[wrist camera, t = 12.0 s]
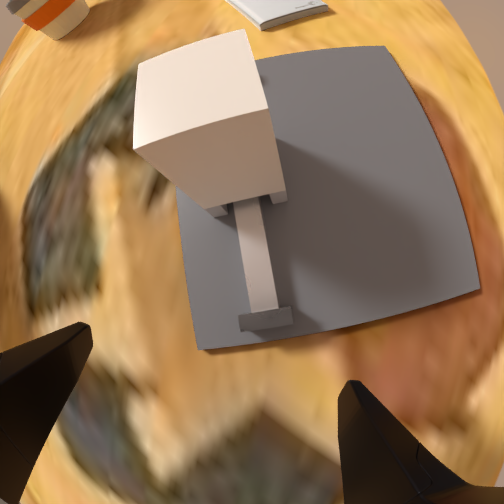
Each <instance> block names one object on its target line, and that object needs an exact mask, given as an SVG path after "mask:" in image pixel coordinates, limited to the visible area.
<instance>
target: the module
mask: <svg viewBox="0 0 504 504" xmlns="http://www.w3.org/2000/svg"><path fill="white" fill-rule="evenodd" d="M133 150H134V151H135V152H137V153H138V154H139V155H140V156H141V157H143V158H144V159H145V160H146V161H147V162H149V163H150V164H151V165H152V166H153V167H154V168H156V169H157V170H158V171H159V172H160V173H162V174H163V175H164V176H165V177H166V178H168V179H169V180H170V181H171V182H172V183H173V184H175V185H176V186H177V187H178V188H179V189H181V190H182V191H183V192H184V193H185V194H187V195H188V196H189V197H190V198H191V199H192V200H194V201H195V202H196V203H197V204H198V205H200V206H201V207H202V208H203V209H204V210H206V211H207V212H208V213H209V214H210V215H211V216H213V217H219V216H223V215H227V214H228V209H227V203H231V202H236V201H240V200H244V199H249V198H253V197H257V196H262V195H266V194H269V195H270V198H271V200H272V203H273V204H276V203H281V202H286V201H288V198H287V193H286V188H285V183H284V178H283V173H282V168H281V163H280V158H279V154H278V149H277V144H276V140H275V135H274V131H273V126H272V122H271V117H270V113H269V109H268V105H267V101H266V98H265V94H264V91H263V87H262V84H261V80H260V77H259V74H258V70H257V67H256V64H255V60H254V57H253V54H252V50H251V47H250V44H249V41H248V38H247V35H246V32H245V29H240V30H236V31H232V32H228V33H225V34H221V35H217V36H214V37H210V38H207V39H204V40H200V41H197V42H194V43H191V44H188V45H185V46H182V47H180V48H177V49H174V50H171V51H169V52H166V53H164V54H161V55H159V56H156V57H154V58H151V59H149V60H147V61H144V62H142V63H140V64H139V65H138V74H137V84H136V96H135V111H134V133H133Z"/></svg>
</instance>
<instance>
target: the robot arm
mask: <svg viewBox="0 0 504 504" xmlns="http://www.w3.org/2000/svg"><path fill="white" fill-rule="evenodd" d="M92 347H93V339H92V333H91V327H90V325H88V324H86V323H83V322H77V323H75V324H72V325H70V326H67V327H65V328H62V329H60V330H57V331H55V332H52V333H50V334H47V335H45V336H42V337H40V338H37V339H34V340H32V341H29V342H27V343H24V344H22V345H19V346H17V347H14V348H12V349H9V350H7V351H4V352H3V353H0V498H1V499H2V500H4V501H5V502H6V503H8V504H19V501H20V499H21V496H22V494H23V491H24V489H25V486H26V484H27V482H28V479H29V477H30V475H31V472H32V470H33V467H34V465H35V463H36V461H37V459H38V456H39V454H40V452H41V450H42V448H43V446H44V444H45V442H46V440H47V438H48V436H49V434H50V432H51V430H52V428H53V426H54V424H55V422H56V420H57V418H58V416H59V414H60V412H61V411H62V409H63V407H64V405H65V403H66V401H67V399H68V398H69V396H70V394H71V392H72V390H73V389H74V387H75V385H76V383H77V381H78V379H79V377H80V375H81V372H82V370H83V368H84V366H85V363H86V361H87V359H88V357H89V354H90V352H91V350H92ZM338 442H339V451H340V460H341V470H342V480H343V492H344V504H504V487H483V486H475V485H471V484H469V483H467V482H465V481H464V480H462V479H461V478H460V477H459V476H457V475H456V474H455V473H454V472H452V471H451V470H450V469H449V468H447V467H446V466H445V465H444V464H442V463H441V462H440V461H439V460H438V459H437V458H435V457H434V456H433V455H432V454H431V453H430V452H429V451H428V450H427V449H426V448H425V447H424V446H423V445H422V444H421V443H419V441H418V440H417V439H416V438H415V437H414V436H413V435H412V434H411V433H410V432H409V431H408V430H407V429H406V428H405V427H404V426H403V425H402V424H401V423H400V422H399V421H398V420H397V419H396V418H395V417H394V416H393V415H392V414H391V412H390V411H389V410H388V409H387V408H386V407H385V406H384V405H383V404H382V403H381V402H380V401H379V400H378V399H377V398H376V397H375V396H374V395H373V394H372V393H371V392H370V391H369V390H368V389H367V388H366V387H365V386H364V385H363V384H362V383H361V382H360V381H358V380H348V381H347V382H346V384H345V386H344V388H343V389H342V391H341V393H340V394H339V397H338Z"/></svg>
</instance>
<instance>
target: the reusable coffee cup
mask: <svg viewBox="0 0 504 504" xmlns="http://www.w3.org/2000/svg"><path fill="white" fill-rule="evenodd" d="M6 7H7V8H8V10H9V11H10V12H11V13H12V14H16V15H17V16H19V17H20V18H22V22H24V23H25V24H27V25H28V26H30V27H31V28H33V29H35V30H36V31H38V30H40V31H42V32H43V33H44V34H46V35H47V36H49V37H50V38H52V39H53V40H58V39H60V38H62V37H64V36H65V35H66V34H68V33H69V32H70V31H72V30H73V29H74V28H75V27H76V26H78V25H79V24H80V23H81V22H82V21H83V20H84V19H85V18H86V16H87V15H88V14H89V12H90V9H89V7H88V5H87V4H86V2H85V0H10V2H9V3H8V4H7V5H6Z"/></svg>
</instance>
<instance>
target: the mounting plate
mask: <svg viewBox="0 0 504 504" xmlns="http://www.w3.org/2000/svg"><path fill="white" fill-rule="evenodd" d="M255 64H256V67H257V70H258V74H259V77H260V80H261V84H262V87H263V91H264V94H265V98H266V101H267V105H268V109H269V113H270V117H271V122H272V126H273V131H274V135H275V140H276V144H277V149H278V154H279V158H280V163H281V168H282V173H283V178H284V183H285V188H286V193H287V198H288V201H286V202H281V203H276V204H273V203H272V200H271V198H270V195H269V194H266V195H262V196H260V200H261V205H262V210H263V215H264V221H265V226H266V231H267V236H268V242H269V247H270V252H271V258H272V263H273V269H274V274H275V280H276V285H277V291H278V296H279V302H280V307H284V306H289V305H292V310H293V316H294V323H293V324H290V325H285V326H279V327H273V328H267V329H261V330H254V331H247V332H240V326H239V321H238V315H240V314H243V313H249V312H251V307H250V301H249V295H248V289H247V284H246V278H245V272H244V266H243V260H242V254H241V248H240V242H239V236H238V230H237V224H236V218H235V212H234V206H233V202H231V203H227V209H228V214H227V215H223V216H219V217H213V216H211V215H210V214H209V213H208V212H207V211H206V210H204V209H203V208H202V207H201V206H200V205H198V204H197V203H196V202H195V201H194V200H192V199H191V198H190V197H189V196H188V195H187V194H185V193H184V192H183V191H182V190H181V189H179V188H178V187H177V186H176V196H177V206H178V216H179V226H180V235H181V243H182V251H183V259H184V267H185V274H186V281H187V288H188V295H189V301H190V308H191V314H192V320H193V326H194V331H195V337H196V342H197V348H198V350H204V349H213V348H222V347H231V346H239V345H246V344H253V343H260V342H267V341H273V340H280V339H286V338H291V337H297V336H303V335H308V334H313V333H319V332H324V331H329V330H333V329H338V328H343V327H347V326H352V325H356V324H361V323H365V322H369V321H373V320H377V319H381V318H385V317H389V316H393V315H397V314H400V313H404V312H407V311H411V310H415V309H418V308H421V307H425V306H428V305H432V304H435V303H438V302H441V301H444V300H448V299H451V298H454V297H457V296H460V295H463V294H466V293H468V292H471V291H474V290H477V289H480V284H479V278H478V272H477V266H476V261H475V256H474V251H473V247H472V242H471V238H470V234H469V230H468V226H467V222H466V219H465V215H464V212H463V208H462V205H461V202H460V199H459V195H458V192H457V189H456V186H455V183H454V181H453V178H452V175H451V172H450V170H449V167H448V164H447V162H446V159H445V157H444V154H443V152H442V150H441V147H440V145H439V143H438V140H437V138H436V136H435V134H434V131H433V129H432V127H431V125H430V123H429V121H428V119H427V117H426V115H425V113H424V111H423V109H422V107H421V105H420V103H419V101H418V99H417V97H416V96H415V94H414V92H413V90H412V89H411V87H410V85H409V83H408V82H407V80H406V78H405V77H404V75H403V73H402V72H401V70H400V68H399V67H398V65H397V64H396V62H395V61H394V59H393V58H392V56H391V55H390V53H389V52H388V50H387V49H386V47H385V46H359V47H342V48H331V49H321V50H313V51H305V52H298V53H292V54H286V55H280V56H274V57H269V58H264V59H259V60H255Z"/></svg>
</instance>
